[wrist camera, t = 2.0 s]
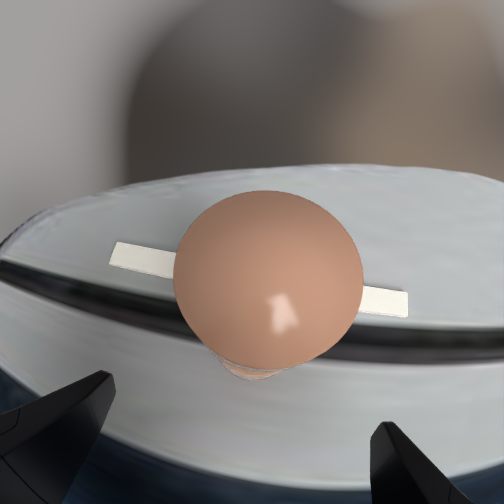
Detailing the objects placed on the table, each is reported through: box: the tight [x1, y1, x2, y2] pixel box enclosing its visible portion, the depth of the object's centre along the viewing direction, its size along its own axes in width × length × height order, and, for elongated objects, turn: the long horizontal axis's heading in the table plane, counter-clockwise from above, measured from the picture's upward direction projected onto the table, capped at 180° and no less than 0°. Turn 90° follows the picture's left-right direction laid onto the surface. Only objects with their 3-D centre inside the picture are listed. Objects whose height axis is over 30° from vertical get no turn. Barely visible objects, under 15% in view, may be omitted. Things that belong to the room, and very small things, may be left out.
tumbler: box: [173, 191, 364, 380], centre depth 13 cm, size 5×5×13 cm
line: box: [109, 242, 408, 318], centre depth 21 cm, size 24×2×1 cm, turn 80°
